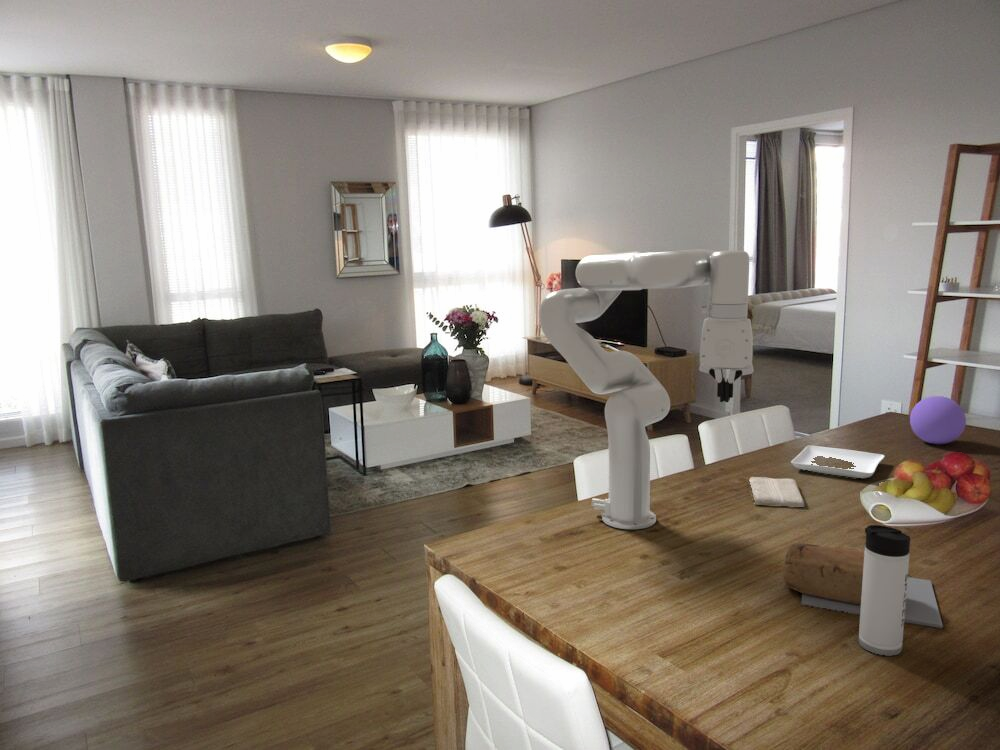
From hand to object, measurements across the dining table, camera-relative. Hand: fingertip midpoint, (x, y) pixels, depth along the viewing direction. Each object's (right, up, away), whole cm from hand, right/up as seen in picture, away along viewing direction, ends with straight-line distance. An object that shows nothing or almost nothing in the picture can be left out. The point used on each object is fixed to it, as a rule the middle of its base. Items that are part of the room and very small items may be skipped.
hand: (724, 400), depth 153 cm
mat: (+21, -35, -16) cm, 44 cm away
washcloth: (+24, -26, +37) cm, 51 cm away
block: (+8, -30, -12) cm, 34 cm away
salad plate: (+49, -22, +58) cm, 79 cm away
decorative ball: (+90, -16, +79) cm, 121 cm away
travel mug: (+15, -39, -34) cm, 53 cm away
